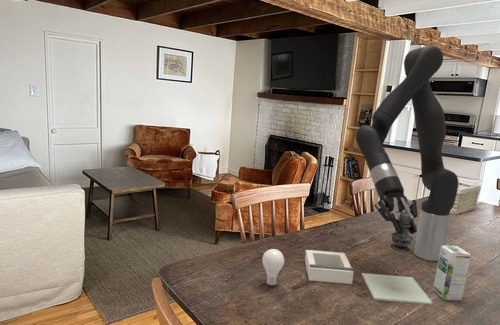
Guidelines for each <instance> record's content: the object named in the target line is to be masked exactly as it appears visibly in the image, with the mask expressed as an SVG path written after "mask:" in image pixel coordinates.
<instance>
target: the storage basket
mask: <svg viewBox="0 0 500 325" xmlns="http://www.w3.org/2000/svg"><path fill="white" fill-rule="evenodd" d="M460 186H463V187H460ZM481 188H482V185H481V184H479V183H474V182H472V181H471V182H470V181H465V180H461V179H458V190H457V194H456V198H455V202H454V206H453V207H452V209H451V210H450V213H452V214H451V215H455V216H456V214H457V215H459V214H460V213H461V214H462V213H466V212H470V211H473V210H476V206H477V203H478V199H479V195H480V193H481Z"/></svg>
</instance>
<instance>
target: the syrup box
mask: <svg viewBox="0 0 500 325" xmlns="http://www.w3.org/2000/svg"><path fill="white" fill-rule="evenodd" d="M471 258H472V254H471V253H469V252H467V251H465V250H464V249H462V248H461V247H460V246H456V245H448V244H447V245H446V246H441V250H440V255H439V260H438V261H437V265H436V266H437V267H436V271H435V278H434V283H433V286H432V290H433V292H435V293H436V294H437V295H438V296H439V297H440V298H441V299H442V300H443V301H462V300H463V298H464V297H463V295H464V291H465V287H466V282H467V277H468V274H469V273H468V272H469V268H470V264H471V263H470V262H471Z"/></svg>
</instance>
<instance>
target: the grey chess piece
mask: <svg viewBox="0 0 500 325" xmlns="http://www.w3.org/2000/svg"><path fill="white" fill-rule="evenodd" d="M404 211H405V212H401V213H400V214H399V220H400V221H401V223H402V226H403V228H404V230H405V233H403V234H402V235H398V233H397V232H396V231H395V232H393V233H391V235H390V236H391V239H392V242H393V243H392V244H390V248H392V250H394V251H395V252H396V251H397V252H401V253H409V252H411V249H410V248H409V246H410V245H411V243H412V241H413V240H414V239H413V237H412V236H411V235H410V232H409V227H410V226H411V225H410V219H411V215H410V214H409V213H408V212H407V209H406V210H405V209H404Z"/></svg>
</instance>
